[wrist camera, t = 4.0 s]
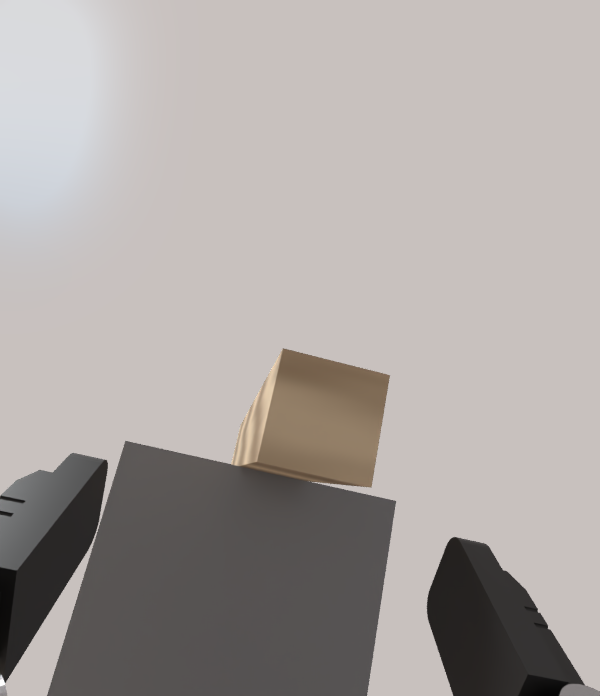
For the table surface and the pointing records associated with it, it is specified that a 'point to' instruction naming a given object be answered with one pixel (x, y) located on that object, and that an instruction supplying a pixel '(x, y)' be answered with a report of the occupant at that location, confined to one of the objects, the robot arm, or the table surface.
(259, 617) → the charcoal pedestal
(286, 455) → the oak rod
